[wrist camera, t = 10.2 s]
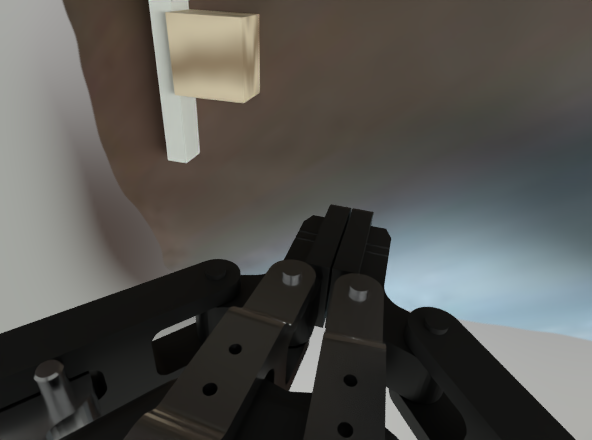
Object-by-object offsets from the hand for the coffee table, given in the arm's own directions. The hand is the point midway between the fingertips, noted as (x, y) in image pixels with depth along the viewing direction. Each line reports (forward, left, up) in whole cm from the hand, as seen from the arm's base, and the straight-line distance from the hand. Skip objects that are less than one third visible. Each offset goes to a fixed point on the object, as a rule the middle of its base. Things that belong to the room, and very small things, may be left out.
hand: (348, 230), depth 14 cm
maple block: (0, -19, -32) cm, 37 cm away
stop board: (+3, -25, -32) cm, 40 cm away
